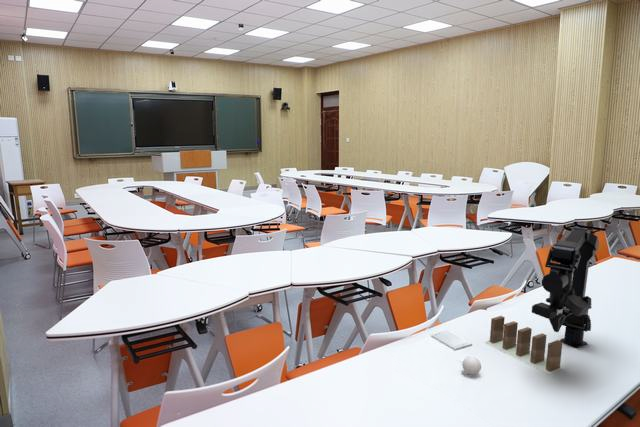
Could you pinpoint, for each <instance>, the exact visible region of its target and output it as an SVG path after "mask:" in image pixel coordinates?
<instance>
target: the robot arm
mask: <svg viewBox="0 0 640 427" xmlns="http://www.w3.org/2000/svg"><path fill="white" fill-rule="evenodd" d="M599 246H600V241H599V238H598V236H597V235H595V234H594V233H592V232H591V230H590V229H588V228H584V227H577V226H575V227H572V228H571V231H570V233H569V234H568V235H567V236H566V237H565V239H564V240H563V241H557V242H555V243H554V244H553V245H552V246H551V247H550V249H549V251H548V254H547V259H546V260H545V261H546V262H545V264H544V265H545V268H550V270H549V272H548V273H547V274H545V275H544V276H543V278H542V279H541V286H542V288H543V289H544V290H545V291H546V292H548V293H549V296H548V297H547V298H546V299H545V302H539V303H535V304H533V305H532V306H531V313H532V314H535V315H537V316H540V317H542V318H545V319H548V320H549V323H550V325H551V328H552V329H553V331H554V332H555V333H559V332H560V330H561V328H562V326H563V327H565V331H564V336H563V338H560V340H559V341H562V342H563V343H565V344H567V345H569V346H571V347H573V348H580V347H582V346H586V345H588V342H586V341H585V340H584V335H585V332H586V333H587V332H590V331H591V330H592V320H591V318H590V314H589V310H591V309H592V298H591V297H590V296H589V295H586V289H587V281H588V276H589V275H588V274H589V266H590V261H591V260H592V259H593V257H594V256H596V254H597V252H598V250H599ZM547 303H548V304H547Z"/></svg>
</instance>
